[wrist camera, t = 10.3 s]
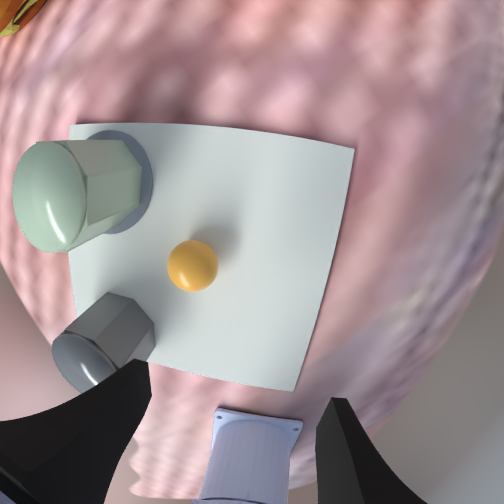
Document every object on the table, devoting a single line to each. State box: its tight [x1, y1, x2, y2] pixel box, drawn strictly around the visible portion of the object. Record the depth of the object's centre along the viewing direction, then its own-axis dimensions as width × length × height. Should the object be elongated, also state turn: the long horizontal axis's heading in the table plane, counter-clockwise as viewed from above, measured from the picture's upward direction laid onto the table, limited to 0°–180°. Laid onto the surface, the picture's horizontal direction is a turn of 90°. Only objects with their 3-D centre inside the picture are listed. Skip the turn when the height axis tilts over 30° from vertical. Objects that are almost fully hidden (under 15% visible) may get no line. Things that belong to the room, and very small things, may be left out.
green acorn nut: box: [12, 140, 142, 253], centre depth 14 cm, size 6×6×6 cm
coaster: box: [86, 130, 153, 234], centre depth 17 cm, size 7×7×1 cm
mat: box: [68, 123, 355, 392], centre depth 19 cm, size 18×19×1 cm
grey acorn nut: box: [52, 292, 155, 393], centre depth 18 cm, size 6×6×6 cm
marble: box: [167, 240, 219, 292], centre depth 17 cm, size 3×3×3 cm
